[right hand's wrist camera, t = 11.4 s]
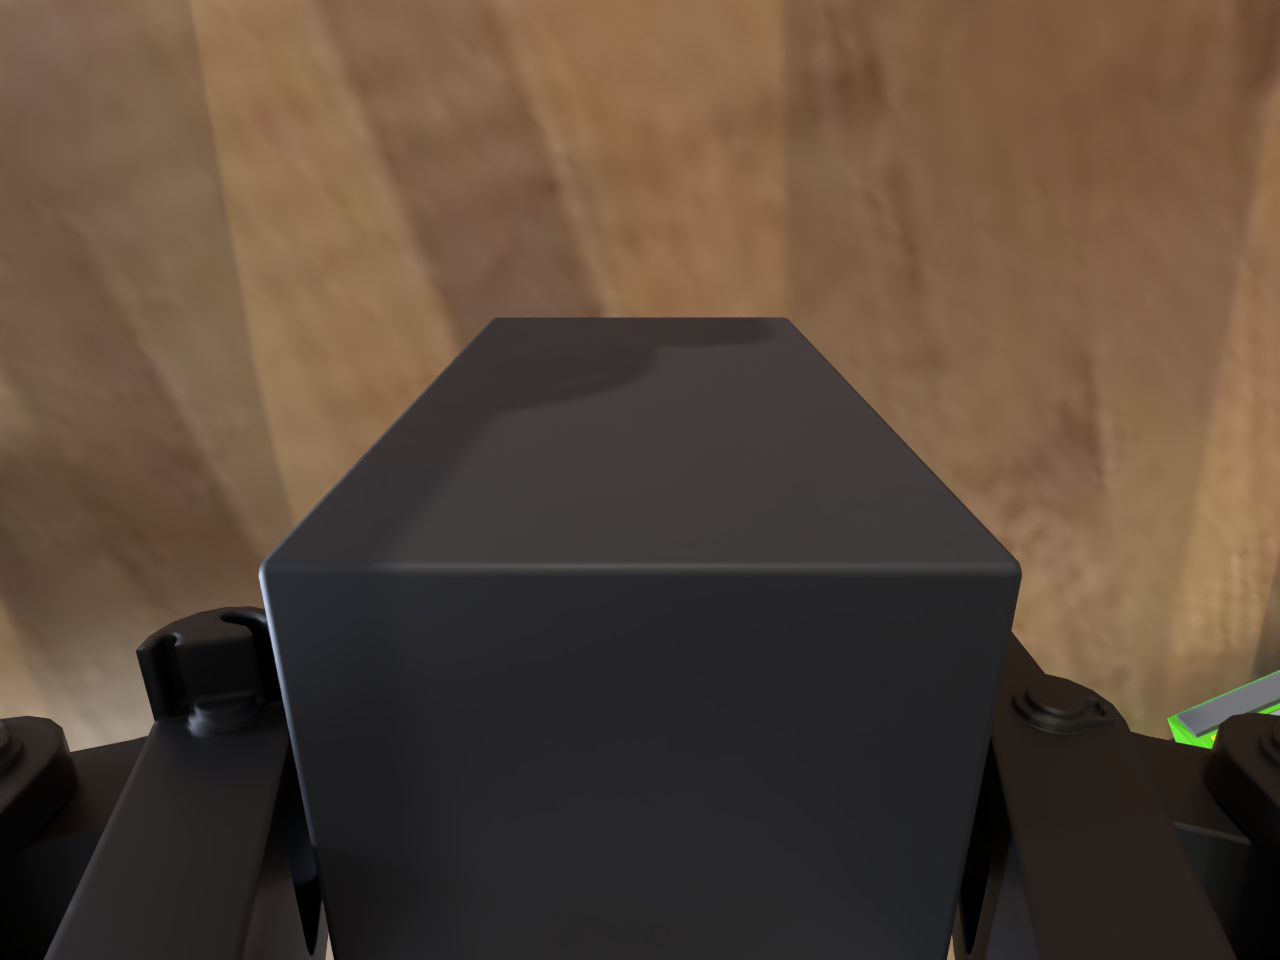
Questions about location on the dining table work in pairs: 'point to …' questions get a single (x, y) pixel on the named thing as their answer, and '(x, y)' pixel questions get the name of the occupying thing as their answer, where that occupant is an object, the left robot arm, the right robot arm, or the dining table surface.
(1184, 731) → the green cube blue stripe
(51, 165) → the dining table surface
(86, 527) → the dining table surface
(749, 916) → the charcoal bar
